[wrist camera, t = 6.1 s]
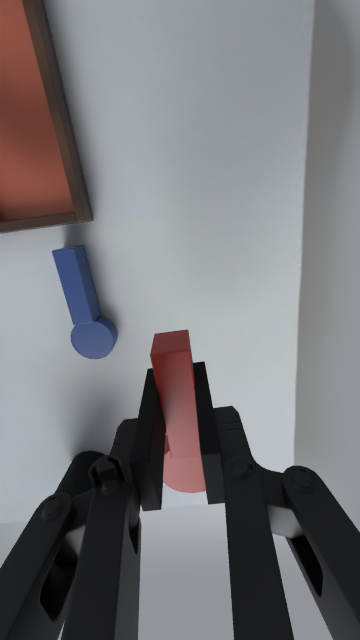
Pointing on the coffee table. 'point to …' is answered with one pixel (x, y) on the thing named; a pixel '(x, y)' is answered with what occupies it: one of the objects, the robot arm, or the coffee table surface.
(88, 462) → the cup
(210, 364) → the coffee table surface
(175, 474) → the red spoon
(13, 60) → the divided sorting tray
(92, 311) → the blue disc-ended stick
